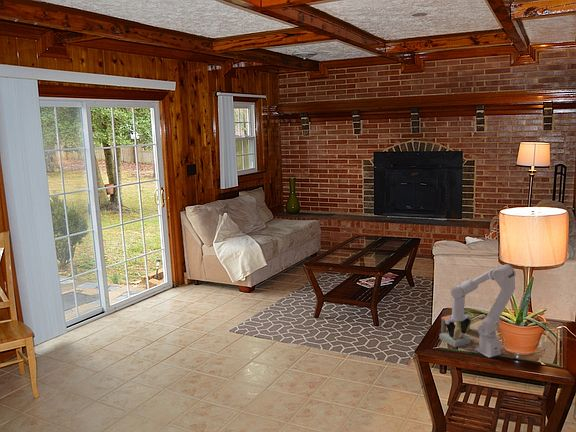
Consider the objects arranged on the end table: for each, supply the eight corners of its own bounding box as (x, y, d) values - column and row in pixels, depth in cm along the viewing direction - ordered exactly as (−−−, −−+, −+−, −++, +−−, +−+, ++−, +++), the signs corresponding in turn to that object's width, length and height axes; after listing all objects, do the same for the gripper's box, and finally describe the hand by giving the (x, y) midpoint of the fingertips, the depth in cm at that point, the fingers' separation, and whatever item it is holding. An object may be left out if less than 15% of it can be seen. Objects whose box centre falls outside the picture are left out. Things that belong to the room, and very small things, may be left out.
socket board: (470, 342, 256) (470, 338, 256) (454, 347, 252) (454, 342, 252) (454, 334, 266) (454, 330, 266) (439, 338, 262) (439, 333, 262)
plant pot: (475, 333, 267) (475, 317, 265) (456, 333, 267) (457, 317, 265) (469, 326, 276) (469, 310, 274) (451, 326, 276) (452, 311, 275)
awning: (457, 336, 264) (458, 317, 262) (446, 338, 261) (447, 320, 259) (451, 332, 268) (451, 314, 266) (440, 335, 265) (441, 317, 263)
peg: (460, 340, 259) (460, 327, 258) (461, 343, 256) (461, 330, 254) (452, 340, 260) (453, 327, 258) (453, 343, 256) (454, 330, 255)
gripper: (463, 303, 261) (462, 328, 264) (441, 308, 255) (440, 334, 258) (474, 308, 255) (472, 334, 257) (451, 313, 249) (450, 340, 251)
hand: (457, 334), depth 257 cm, fingers open, 7 cm apart
